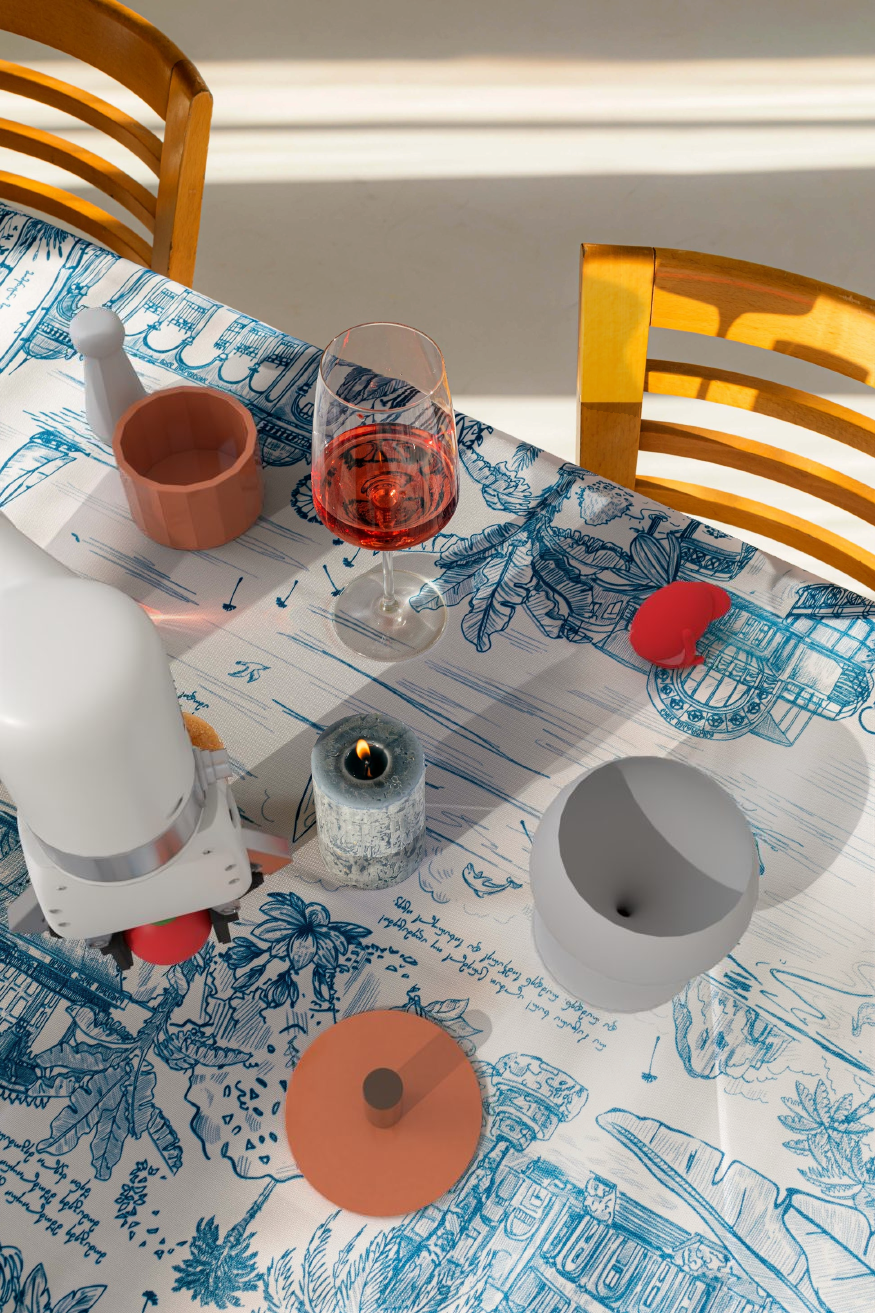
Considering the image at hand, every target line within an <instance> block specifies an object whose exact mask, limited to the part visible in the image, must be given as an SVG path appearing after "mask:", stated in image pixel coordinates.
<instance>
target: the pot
mask: <svg viewBox="0 0 875 1313" xmlns="http://www.w3.org/2000/svg"><path fill="white" fill-rule="evenodd" d="M147 395H148V396H146V397H144V398H143V399H141V400H139V401H137V402H135V403H134V404H133V405H132V406H131V407H130V408H129V409H128V410H127V411H126V412H125V414H124V415H123V416H122V417H121V418H120V419H119V421H118V422H117V424H116V428H115V432H114V435H113V439H112V442H111V443H112V444H111V445H112V447H111V448H112V453H113V455H114V456H113V457H114V460H115V463H116V467H117V470H118V473H119V478H120V480H121V485H122V488H123V491H124V493H125V498H126V501H127V504H128V508H129V511H130V516H131V517H132V519H133V521H134V523H135V525H136V526H137V527H138V529H139V530H140V531H141V532H142V533H143V534H144V535H145V536H146V537H148V538H149V539H150V540H152V541H153V542H155V543H158V544H159V545H162V546H164V547H167V548H172V549H175V550H181V551H182V550H183V551H202V550H203V551H204V550H209V549H213V548H217V547H220V546H223V545H225V544H227V543H231V542H232V541H233V540H235V539H237V538H239V537H240V536H242V535H243V534H244V533H246V532H247V531H248V530H249V529H250V528H251V527H252V526H253V524H255V522H256V520H258V518H259V516H260V514H261V512H262V510H263V506H264V503H265V494H266V493H265V491H266V483H265V476H264V468H263V464H262V463H263V462H262V456H261V454H262V453H261V448H260V447H261V446H260V441H259V435H258V434H259V433H258V430H257V426H256V424H255V421H254V418H253V415H252V412H251V411H250V410H249V409H248V408H247V407H246V406H245V405H244V404H242V402H240V401H239V399H238V398H236V397H235V396H234V395H232V394H230V393H227V392H224V391H223V390H220V389H217V388H214V387H211V386H200V385H199V386H198V385H178V386H173V387H168V388H165V389H159V390H155V391H154V392H151V393H150V394H147Z"/></svg>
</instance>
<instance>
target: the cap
mask: <svg viewBox="0 0 875 1313" xmlns="http://www.w3.org/2000/svg"><path fill="white" fill-rule="evenodd" d="M731 605H732V600H731V596H730V595H729V593H728V592H726V590H725V589H723V588H721V587H720V586H718V585H716V584H713V583H709V582H704V581H684V580H676V581H673V582H671V583H669V584H667V585H665V586H663V587H661V588H659V589H658V590H656V591H654V592H653V593H652V594H651V595H650V596H648V597H647V598H646V599H645V600H644V601H643V603H642V604H641V605H640V606H639V607H638V609H637V611H636V612H635V615H634V616H633V618H632V621H631V624H630V629H629V632H628V637H627V638H628V642H629V644H630V646H631V648H632V649H633V651H634V652H635V653H636V655H638V656H639V657H640V658H642V659H644V660H646V661H647V662H649V663H652V664H653V665H654V666H657V667H660V668H663V669H669V670H675V669H686V668H688V667H689V668H690V667H693V666H700V665H702V664H704V662H705V656H704V655H696V653H697V648H696V643H697V641H699V640H700V639H701V637H703V635H704V634H705V632H706V631H707V629H708V628H709V625H710V623H711V622H714V621H717V620H718V619H720V618H722V617H723V616H725V615H726V614H727V613H728V612H729V610H730V608H731Z"/></svg>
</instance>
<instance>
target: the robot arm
mask: <svg viewBox="0 0 875 1313" xmlns="http://www.w3.org/2000/svg"><path fill="white" fill-rule="evenodd" d="M158 630H159V629H158V628H157V625H156V624H155V623H154V620H153V619H152V617H151V616H150V615H149V614H148V613H147V611H146V610H145V609H144V607H143V606H142V605H141V604H139V603H138V602H137V601H136V600H134V598H132V597H131V596H130V595H128V594H127V593H125V592H124V591H121V590H120V589H118V588H116V587H115V586H112V585H109V584H107V583H104V582H102V581H99V580H93V579H88V578H83V577H82V576H81V575H79V574H77V573H76V572H75V571H73V569H71V568H70V567H68V566H67V565H65V564H64V563H63V562H62V561H60V560H58V559H57V558H56V557H55V556H53V555H52V554H51V553H49V552H48V551H46V550H45V549H44V548H43V547H41V546H40V545H39V544H38V543H36V542H35V541H34V540H33V539H31V538H30V537H29V536H28V535H27V534H25V533H24V532H22V530H20V529H19V528H18V527H17V526H16V525H15V524H14V522H13V521H12V520H11V519H10V518H9V517H8V515H6V514H5V512H3V510H1V509H0V781H1V783H2V785H3V787H4V789H5V790H6V792H7V793H8V795H9V797H10V798H11V801H12V802H13V803H14V805H15V807H16V817H17V818H16V819H17V820H16V822H17V829H18V835H19V841H20V844H21V848H22V852H23V856H24V861H25V866H26V869H27V872H28V876H29V879H30V881H31V883H30V885H28V886H27V887H26V888H25V890H23V891H22V893H20V894H19V896H17V897H16V899H15V900H13V902H11V904H10V905H9V906H7V908H6V914H7V923H8V925H7V926H8V932H9V933H10V934H13V935H14V934H16V935H17V934H18V935H19V934H20V935H21V934H22V935H23V934H26V935H28V934H30V935H32V934H33V935H34V934H37V935H39V934H41V935H42V934H44V933H45V932H49V936H50V937H52V938H56V939H59V940H63V939H66V940H68V941H69V940H70V941H79V940H85V943H86V948H87V949H90V950H99V952H100V953H101V955H102V956H103V957H104V956H108V955H111V956H112V958H113V960H114V961H115V963H116V965H117V966H118V968H119V970H120V972H124V971H125V972H126V971H129V970H131V969H132V967H134V965H135V963H134V958H133V952H132V951H131V950H130V948H129V947H128V945H127V944H126V942H125V939H124V936H123V932H122V931H123V930H127V929H131V928H134V927H138V926H142V925H146V924H150V923H154V922H158V921H162V920H166V919H169V918H173V917H177V916H181V915H185V914H188V913H192V912H196V911H199V910H203V909H207V908H209V911H210V916H211V921H212V928H213V930H214V933H215V936H216V939H217V942H218V944H222V945H226V944H231V943H232V936H231V932H230V927H229V924H231V923H234V922H237V921H240V916H239V915H240V914H239V911H240V910H241V909H242V906H241V901H240V900H241V899H243V898H244V897H245V896H247V895H248V894H250V893H251V892H253V891H254V890H256V889H258V888H260V886H262V885H263V884H264V882H265V878H264V877H265V876H271V875H274V873H275V874H276V873H277V872H278V871H280V870H281V869H283V868H285V867H287V866H288V865H290V864H292V863H293V861H294V858H293V853H292V849H291V845H290V841H289V838H287V837H285V836H280V835H277V834H272V833H268V832H264V831H260V830H257V829H252V828H248V827H243V823H242V819H241V816H240V813H239V810H238V806H237V803H236V801H235V798H234V794H233V793H232V791H231V788H230V785H229V783H228V782H227V780H226V779H228V778H232V777H233V776H234V774H233V771H232V766H231V762H230V758H229V752H228V749H227V747H223V748H218V749H215V750H214V749H213V750H211V749H210V748H205V749H201V747H200V746H197V745H193V743H192V739H191V735H190V732H189V731H188V729H187V725H186V721H185V717H184V713H183V710H182V707H181V703H180V699H179V697H178V692H177V689H176V684H175V682H174V678H173V674H172V670H171V666H170V663H169V659H168V655H167V652H166V648H165V645H164V642H163V638H162V637H161V634H160V632H159V631H158Z"/></svg>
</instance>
